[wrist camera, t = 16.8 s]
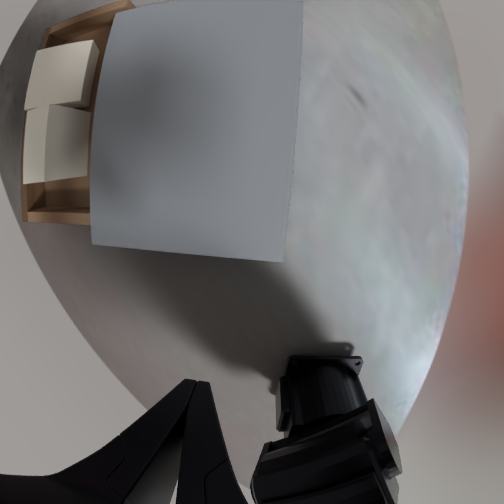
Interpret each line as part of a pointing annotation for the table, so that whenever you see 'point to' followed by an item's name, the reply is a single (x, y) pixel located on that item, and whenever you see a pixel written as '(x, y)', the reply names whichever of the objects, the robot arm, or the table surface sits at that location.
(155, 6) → the board
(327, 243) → the table surface
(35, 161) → the tile
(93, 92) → the box
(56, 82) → the tile
